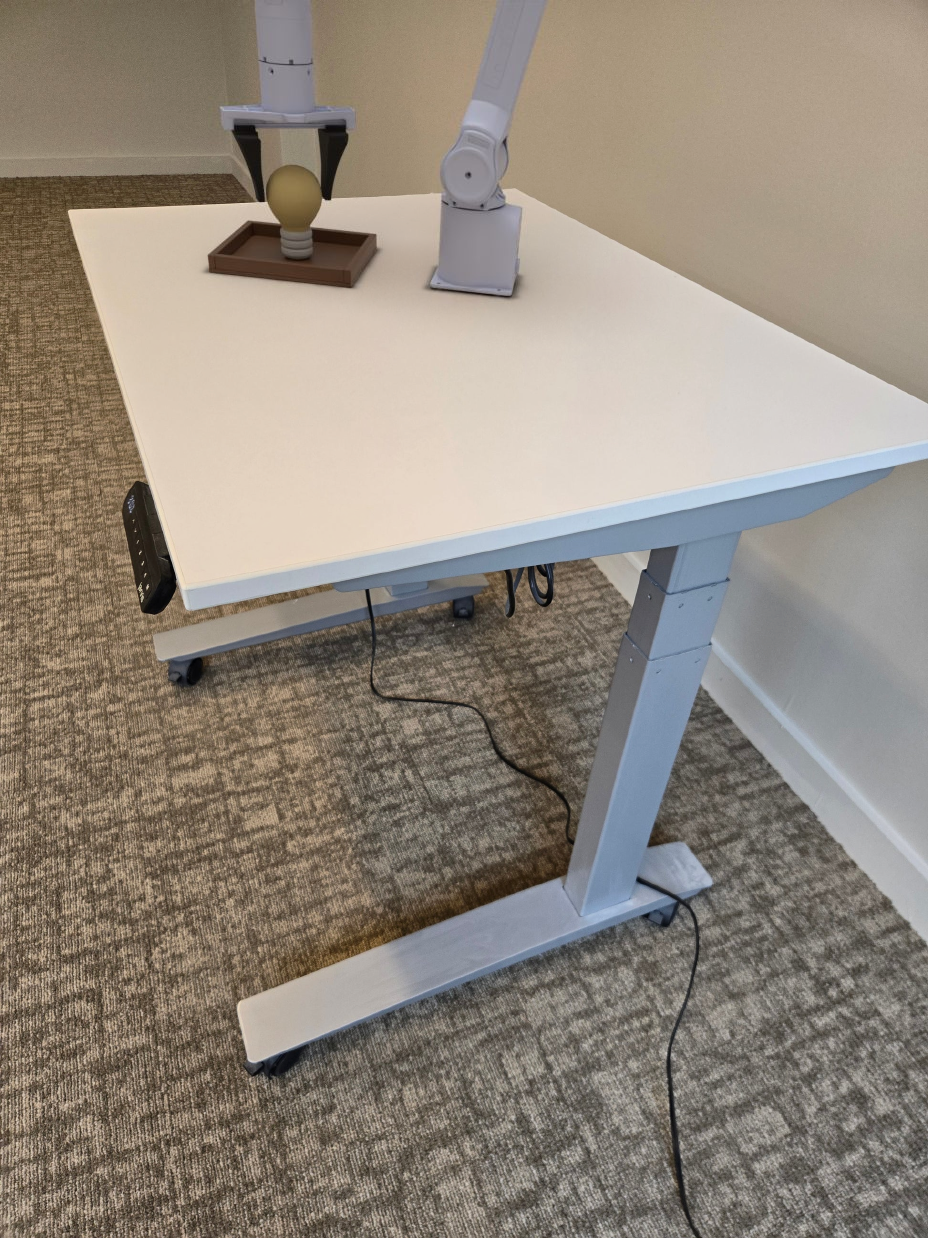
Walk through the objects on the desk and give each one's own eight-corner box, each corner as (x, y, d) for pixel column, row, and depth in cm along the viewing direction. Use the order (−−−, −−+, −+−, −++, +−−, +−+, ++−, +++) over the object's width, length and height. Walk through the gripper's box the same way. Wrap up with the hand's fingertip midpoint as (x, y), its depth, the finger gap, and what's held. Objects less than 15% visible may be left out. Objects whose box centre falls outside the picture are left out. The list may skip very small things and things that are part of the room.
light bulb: (280, 245, 107) (274, 156, 101) (330, 251, 107) (327, 162, 101) (262, 261, 103) (255, 168, 96) (315, 267, 102) (311, 174, 96)
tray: (376, 249, 110) (376, 233, 109) (350, 287, 99) (350, 270, 98) (249, 235, 111) (247, 219, 110) (209, 271, 100) (207, 254, 99)
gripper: (221, 65, 87) (235, 210, 96) (362, 68, 91) (363, 206, 100) (212, 54, 92) (226, 193, 101) (345, 57, 96) (348, 190, 105)
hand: (293, 198), depth 101 cm, fingers open, 7 cm apart
